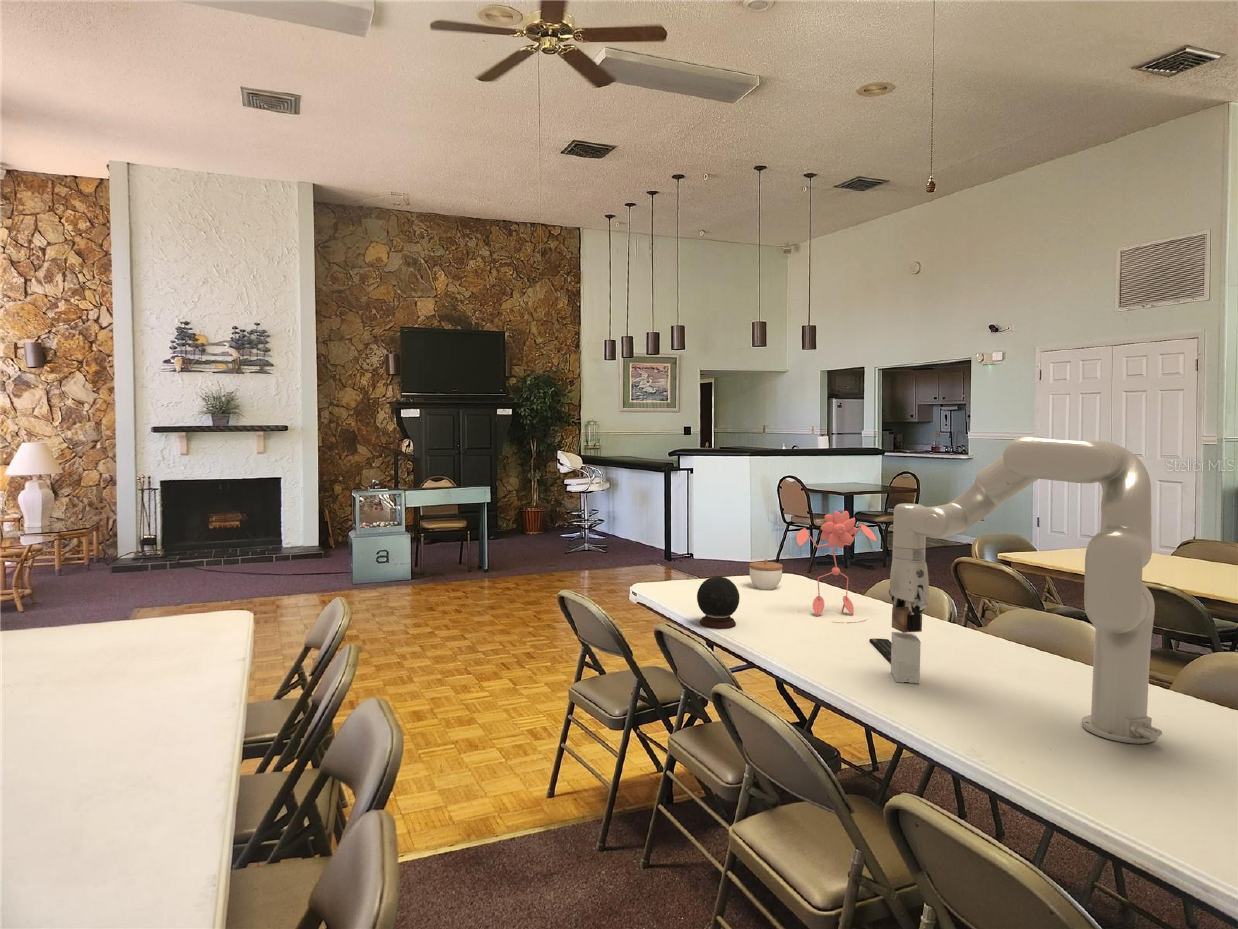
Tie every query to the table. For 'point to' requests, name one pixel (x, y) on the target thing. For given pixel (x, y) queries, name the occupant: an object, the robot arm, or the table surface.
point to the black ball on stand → (718, 602)
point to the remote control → (883, 647)
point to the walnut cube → (902, 619)
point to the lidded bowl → (765, 574)
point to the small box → (905, 657)
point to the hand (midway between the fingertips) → (906, 626)
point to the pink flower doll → (837, 534)
